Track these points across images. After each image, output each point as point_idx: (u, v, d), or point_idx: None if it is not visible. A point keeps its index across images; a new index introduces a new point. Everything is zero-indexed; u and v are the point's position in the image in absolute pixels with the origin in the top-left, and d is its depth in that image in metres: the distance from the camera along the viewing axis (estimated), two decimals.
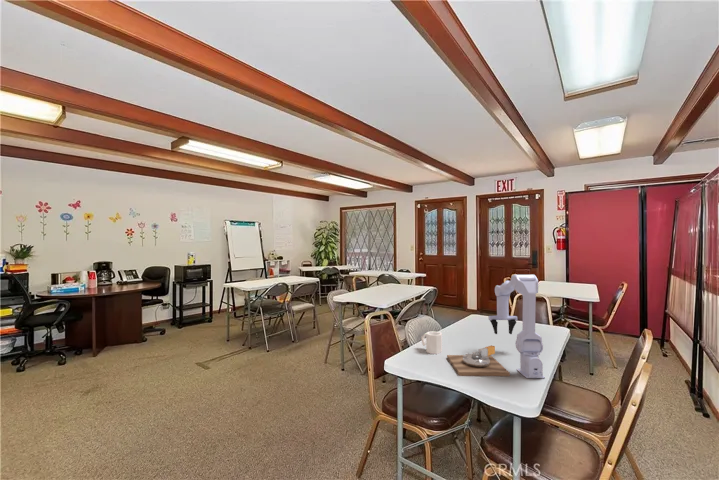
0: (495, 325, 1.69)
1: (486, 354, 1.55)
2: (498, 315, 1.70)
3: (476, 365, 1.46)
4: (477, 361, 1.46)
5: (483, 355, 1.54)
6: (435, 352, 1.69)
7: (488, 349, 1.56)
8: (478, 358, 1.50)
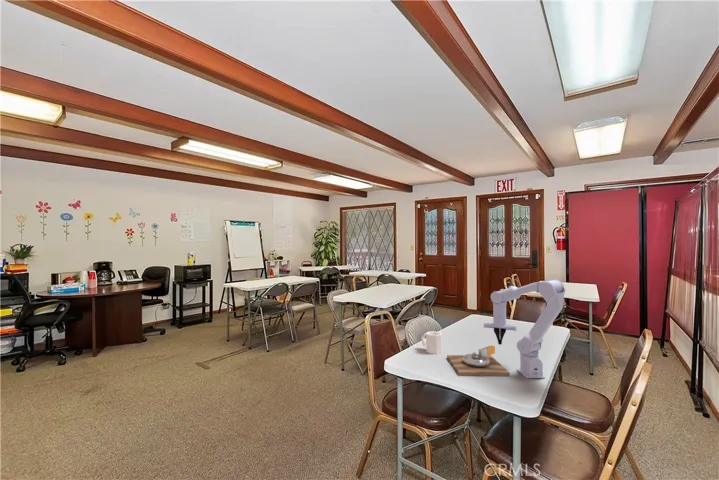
0: (497, 334, 1.54)
1: (486, 354, 1.55)
2: (493, 323, 1.56)
3: (476, 365, 1.46)
4: (477, 361, 1.46)
5: (483, 355, 1.54)
6: (435, 352, 1.69)
7: (488, 349, 1.56)
8: (478, 358, 1.50)
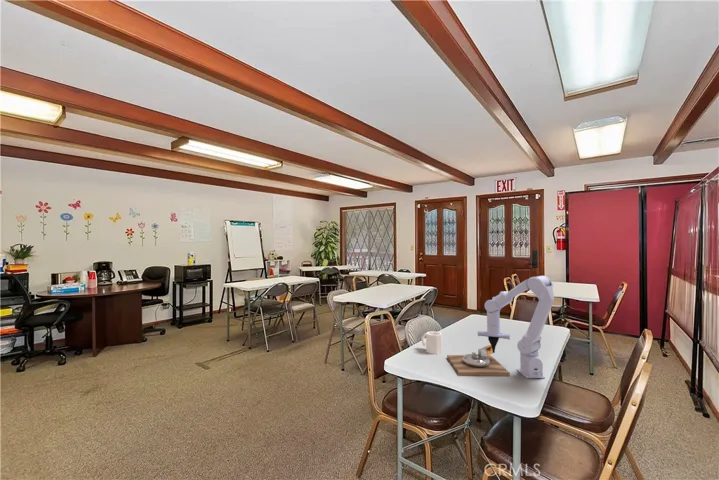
0: (491, 343, 1.55)
1: (485, 354, 1.55)
2: (487, 331, 1.57)
3: (477, 365, 1.46)
4: (478, 361, 1.46)
5: (483, 355, 1.54)
6: (435, 352, 1.69)
7: (487, 349, 1.56)
8: (478, 358, 1.50)
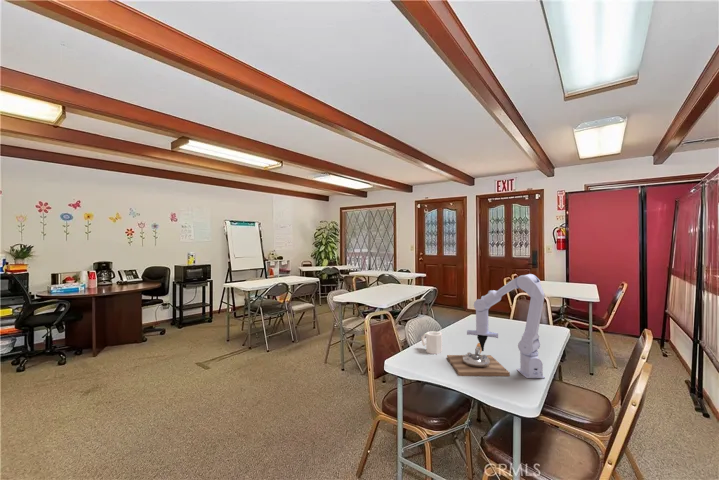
0: (480, 341, 1.58)
1: (479, 352, 1.58)
2: (476, 330, 1.60)
3: (483, 365, 1.46)
4: (483, 361, 1.46)
5: (479, 354, 1.56)
6: (435, 352, 1.69)
7: (480, 347, 1.59)
8: (479, 358, 1.50)
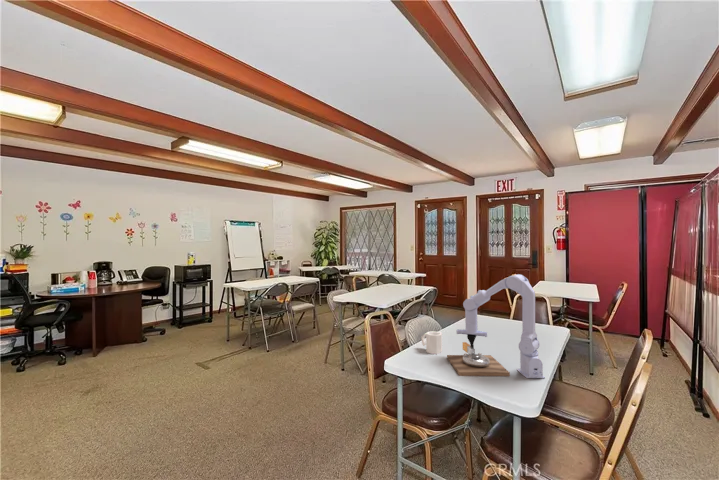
0: (470, 340, 1.60)
1: None
2: None
3: (488, 364, 1.48)
4: (488, 360, 1.48)
5: None
6: (435, 352, 1.69)
7: None
8: (480, 357, 1.51)
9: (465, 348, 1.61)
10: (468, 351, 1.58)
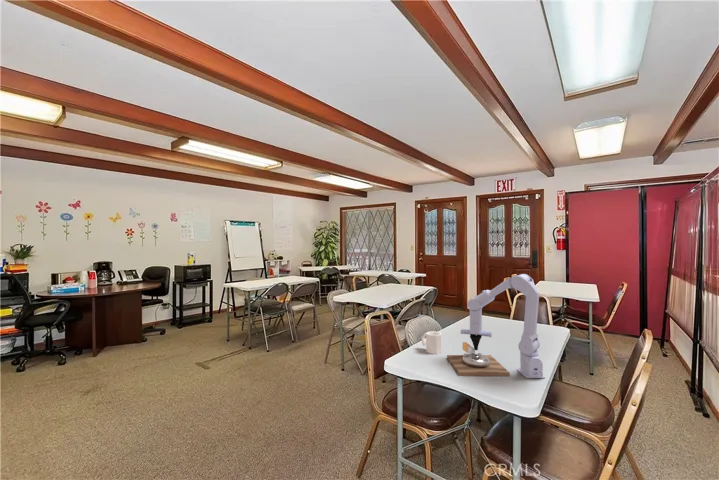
0: (473, 340, 1.59)
1: None
2: (470, 329, 1.61)
3: (488, 364, 1.48)
4: (488, 360, 1.48)
5: None
6: (435, 352, 1.69)
7: None
8: (480, 357, 1.51)
9: (465, 348, 1.61)
10: (468, 351, 1.58)
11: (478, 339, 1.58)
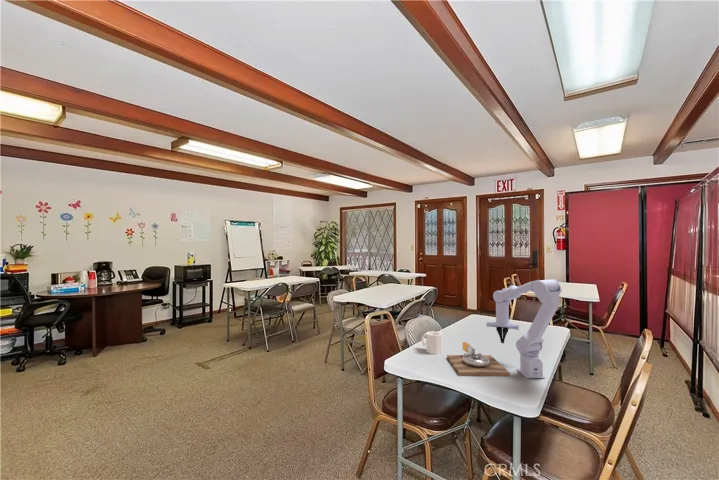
0: (499, 333, 1.56)
1: None
2: (496, 322, 1.58)
3: (488, 364, 1.48)
4: (488, 360, 1.48)
5: None
6: (435, 352, 1.69)
7: None
8: (480, 357, 1.51)
9: (465, 348, 1.61)
10: (468, 351, 1.58)
11: (505, 332, 1.55)
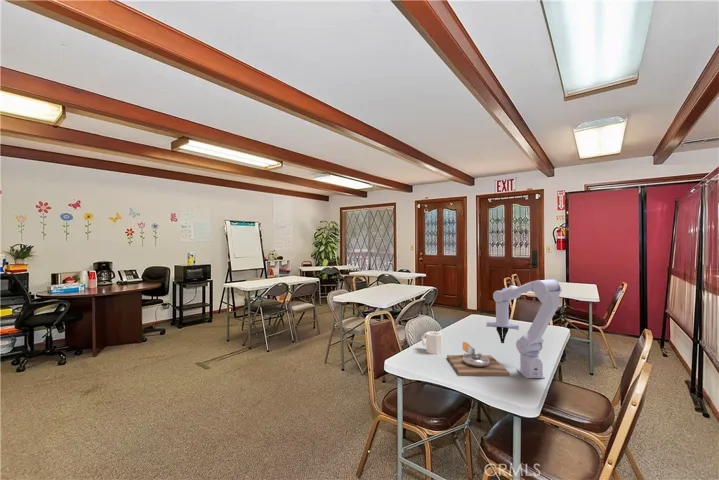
0: (499, 333, 1.56)
1: None
2: (496, 322, 1.58)
3: (488, 364, 1.48)
4: (488, 360, 1.48)
5: None
6: (435, 352, 1.69)
7: None
8: (480, 357, 1.51)
9: (465, 348, 1.61)
10: (468, 351, 1.58)
11: (505, 332, 1.55)
